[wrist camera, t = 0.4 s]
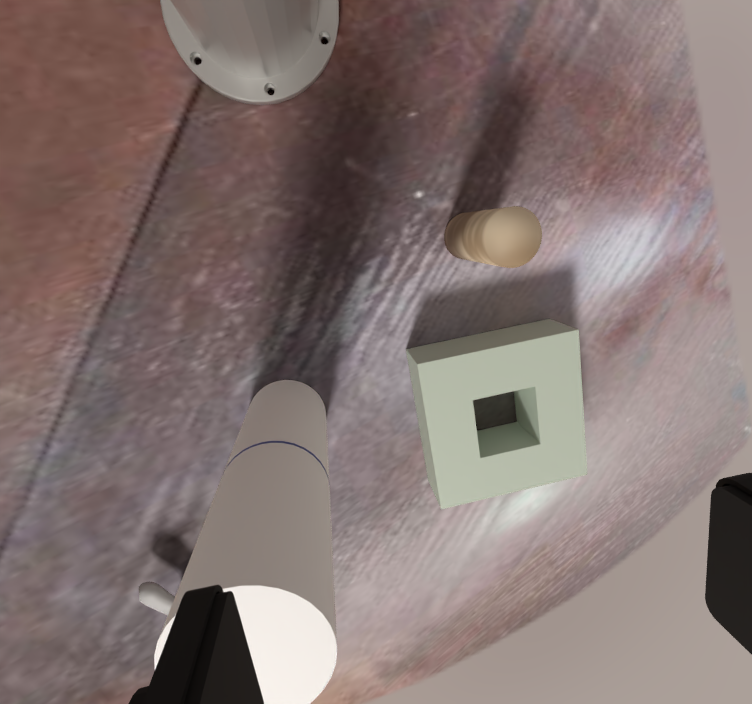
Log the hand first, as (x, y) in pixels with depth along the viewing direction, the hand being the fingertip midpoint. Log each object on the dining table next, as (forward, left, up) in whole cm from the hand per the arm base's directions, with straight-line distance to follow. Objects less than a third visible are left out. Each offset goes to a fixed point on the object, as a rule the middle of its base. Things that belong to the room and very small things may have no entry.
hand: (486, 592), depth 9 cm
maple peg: (-4, +11, -33) cm, 35 cm away
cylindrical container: (+9, -8, -33) cm, 35 cm away
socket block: (+12, +11, -33) cm, 37 cm away
